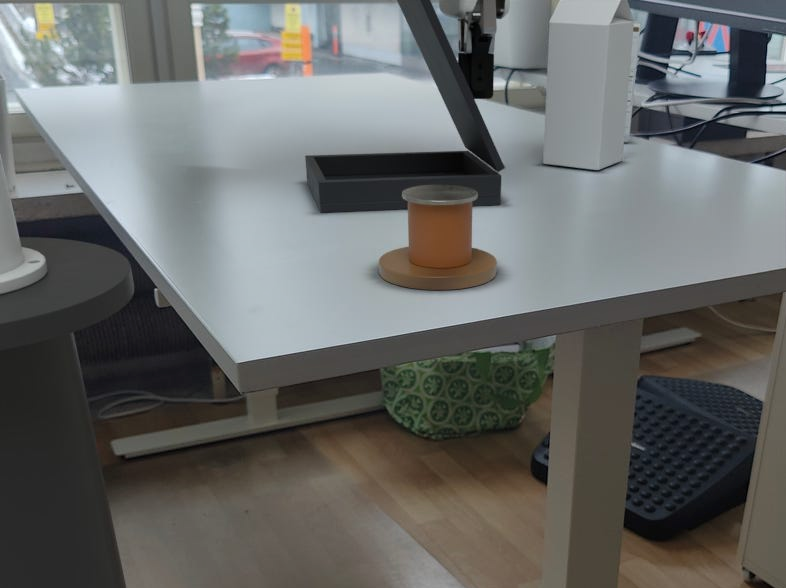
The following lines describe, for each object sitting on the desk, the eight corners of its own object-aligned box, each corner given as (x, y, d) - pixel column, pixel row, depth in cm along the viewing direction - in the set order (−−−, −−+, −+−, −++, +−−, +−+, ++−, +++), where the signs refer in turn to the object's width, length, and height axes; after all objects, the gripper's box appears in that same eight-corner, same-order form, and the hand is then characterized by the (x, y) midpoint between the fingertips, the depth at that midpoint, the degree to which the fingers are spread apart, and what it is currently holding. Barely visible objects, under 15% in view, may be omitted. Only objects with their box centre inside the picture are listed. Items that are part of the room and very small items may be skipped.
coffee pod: (411, 272, 70) (409, 202, 68) (397, 251, 75) (395, 186, 72) (484, 267, 71) (486, 199, 69) (467, 248, 76) (467, 183, 73)
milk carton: (598, 171, 109) (612, -19, 99) (542, 165, 112) (550, -20, 102) (622, 162, 114) (638, -20, 104) (568, 156, 117) (578, -21, 107)
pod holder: (320, 212, 90) (318, 182, 88) (307, 183, 101) (305, 155, 100) (500, 204, 94) (501, 175, 92) (468, 177, 105) (468, 150, 104)
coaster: (390, 293, 69) (389, 280, 68) (371, 259, 76) (370, 247, 76) (510, 286, 71) (510, 272, 70) (480, 253, 78) (480, 241, 78)
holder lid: (409, -23, 82) (418, -28, 82) (384, -27, 93) (391, -31, 93) (498, 172, 92) (505, 168, 92) (465, 147, 103) (471, 144, 103)
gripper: (420, -120, 91) (423, 89, 100) (455, -131, 78) (455, 109, 88) (496, -117, 93) (493, 88, 102) (542, -127, 80) (533, 107, 89)
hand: (475, 97), depth 95 cm, fingers closed
